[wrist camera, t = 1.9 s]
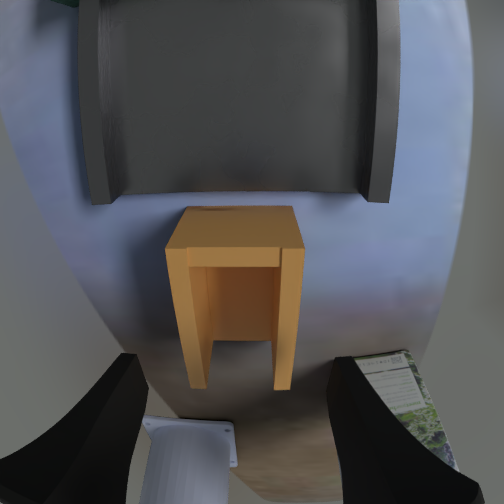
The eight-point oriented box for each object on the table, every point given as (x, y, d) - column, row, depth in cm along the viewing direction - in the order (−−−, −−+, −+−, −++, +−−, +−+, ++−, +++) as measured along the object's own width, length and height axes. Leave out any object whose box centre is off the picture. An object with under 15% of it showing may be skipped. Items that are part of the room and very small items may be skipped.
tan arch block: (283, 331, 19) (289, 389, 15) (201, 330, 19) (191, 388, 15) (291, 205, 15) (305, 248, 11) (187, 205, 15) (164, 248, 11)
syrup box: (325, 404, 23) (350, 576, 10) (333, 356, 20) (374, 571, 7) (392, 394, 22) (436, 551, 10) (410, 344, 20) (481, 531, 7)
